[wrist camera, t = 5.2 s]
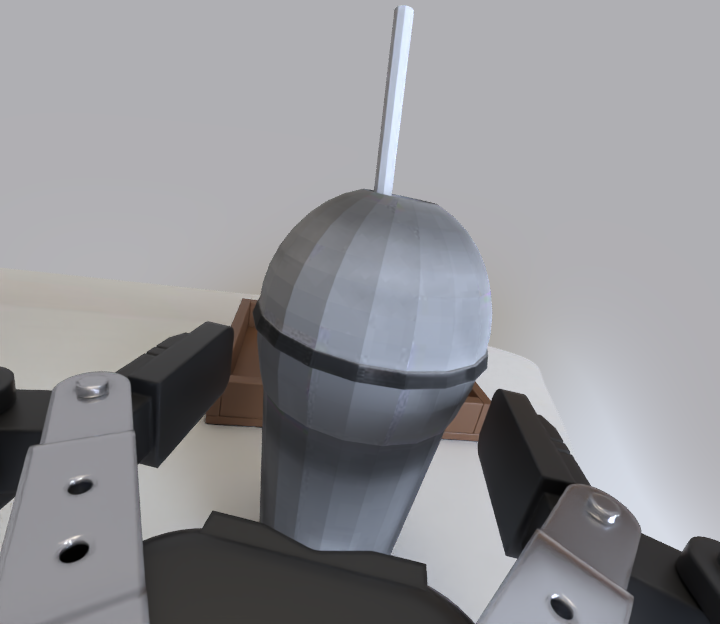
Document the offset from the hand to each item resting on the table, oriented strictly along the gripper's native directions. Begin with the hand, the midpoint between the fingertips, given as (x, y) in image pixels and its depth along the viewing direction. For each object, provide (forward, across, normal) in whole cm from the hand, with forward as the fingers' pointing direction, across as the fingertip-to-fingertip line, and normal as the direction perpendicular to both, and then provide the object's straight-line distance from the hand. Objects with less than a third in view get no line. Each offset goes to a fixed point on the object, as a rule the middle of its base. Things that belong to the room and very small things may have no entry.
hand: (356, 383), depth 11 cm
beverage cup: (+1, 0, +10) cm, 10 cm away
